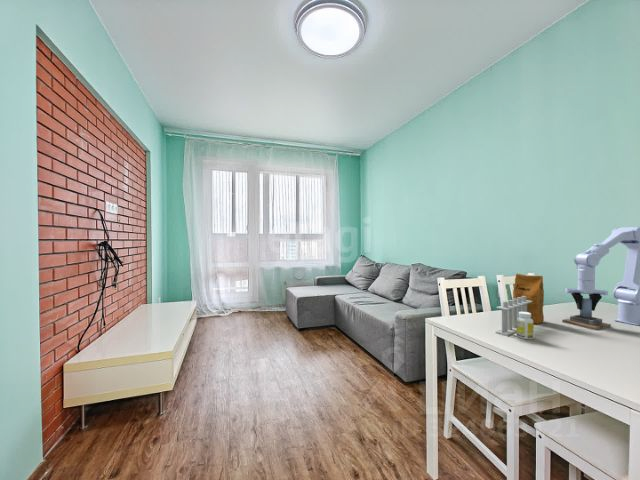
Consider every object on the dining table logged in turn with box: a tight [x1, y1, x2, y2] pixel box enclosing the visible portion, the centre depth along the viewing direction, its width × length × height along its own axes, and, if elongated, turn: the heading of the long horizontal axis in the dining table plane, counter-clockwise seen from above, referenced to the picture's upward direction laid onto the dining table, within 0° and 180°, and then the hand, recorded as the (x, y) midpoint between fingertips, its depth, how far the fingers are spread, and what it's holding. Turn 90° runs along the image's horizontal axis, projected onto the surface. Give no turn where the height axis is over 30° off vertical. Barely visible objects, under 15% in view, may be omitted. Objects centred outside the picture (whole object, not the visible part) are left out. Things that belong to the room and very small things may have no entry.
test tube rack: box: [495, 296, 533, 337], centre depth 122 cm, size 25×4×13 cm, turn 123°
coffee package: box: [512, 272, 545, 325], centre depth 133 cm, size 10×12×22 cm
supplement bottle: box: [516, 312, 534, 340], centre depth 112 cm, size 5×5×10 cm
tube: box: [579, 297, 593, 317], centre depth 127 cm, size 4×4×8 cm
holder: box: [561, 313, 612, 331], centre depth 127 cm, size 12×12×3 cm
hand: (585, 309), depth 127 cm, fingers closed on tube, 4 cm apart
